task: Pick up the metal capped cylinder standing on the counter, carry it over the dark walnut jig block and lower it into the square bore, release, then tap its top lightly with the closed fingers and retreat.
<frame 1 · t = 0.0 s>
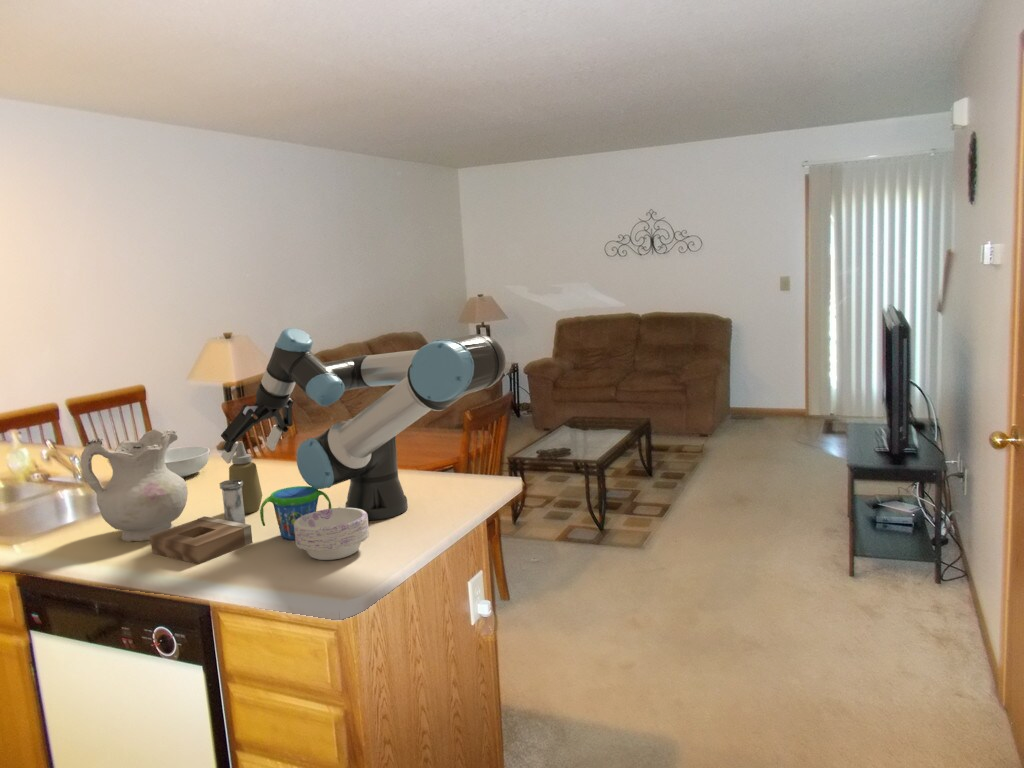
hand: (248, 453, 197), 15 cm above the worktop, tool tilted 35°, fingers open, 13 cm apart
ceramic pitcher: (143, 535, 187), on the worktop
jig: (198, 549, 174), on the worktop
serving bowl: (175, 476, 242), on the worktop
squeeze bottle: (247, 511, 201), on the worktop
metal capped cylinder: (236, 527, 189), on the worktop
snack cup: (298, 536, 180), on the worktop
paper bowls: (334, 553, 167), on the worktop
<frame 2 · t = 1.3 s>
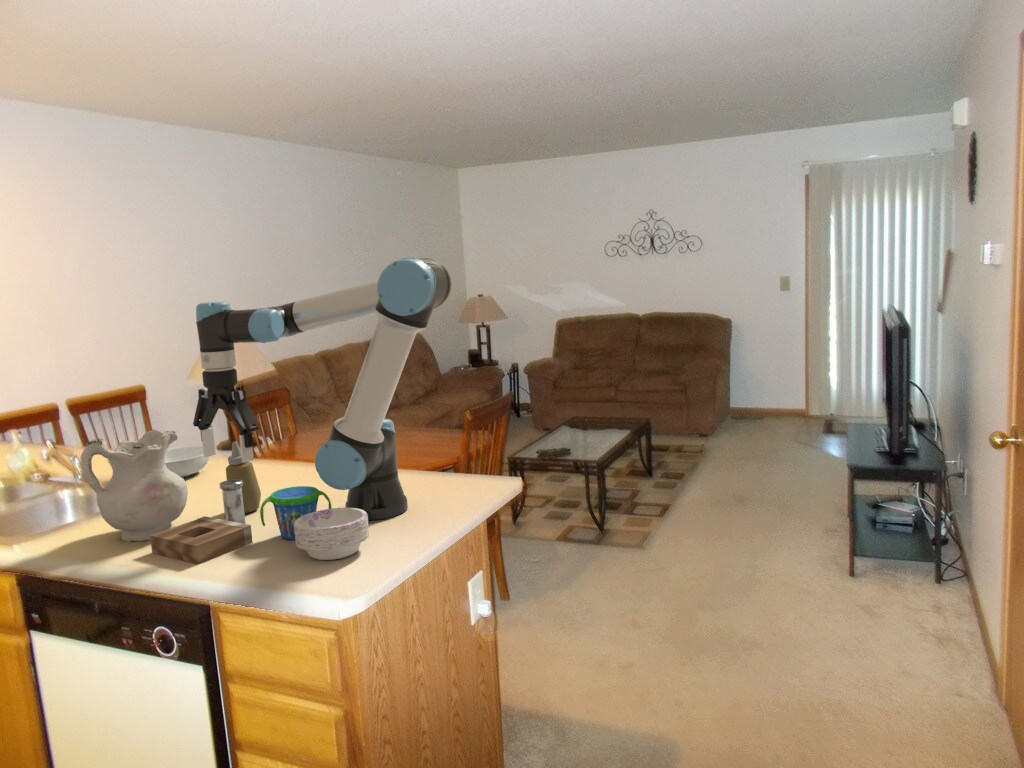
hand: (228, 458, 186), 17 cm above the worktop, tool pointing down, fingers open, 13 cm apart
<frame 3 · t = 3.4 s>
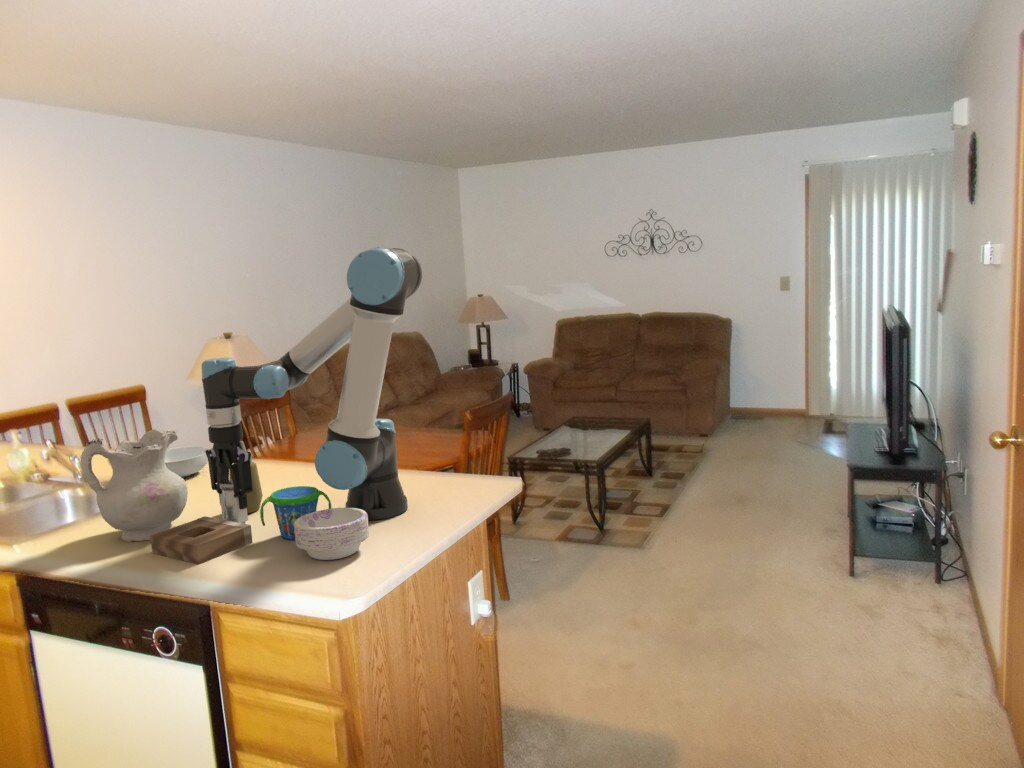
hand: (235, 520, 188), 2 cm above the worktop, tool pointing down, fingers closed on metal capped cylinder, 4 cm apart
metal capped cylinder: (236, 526, 188), on the worktop, touching gripper
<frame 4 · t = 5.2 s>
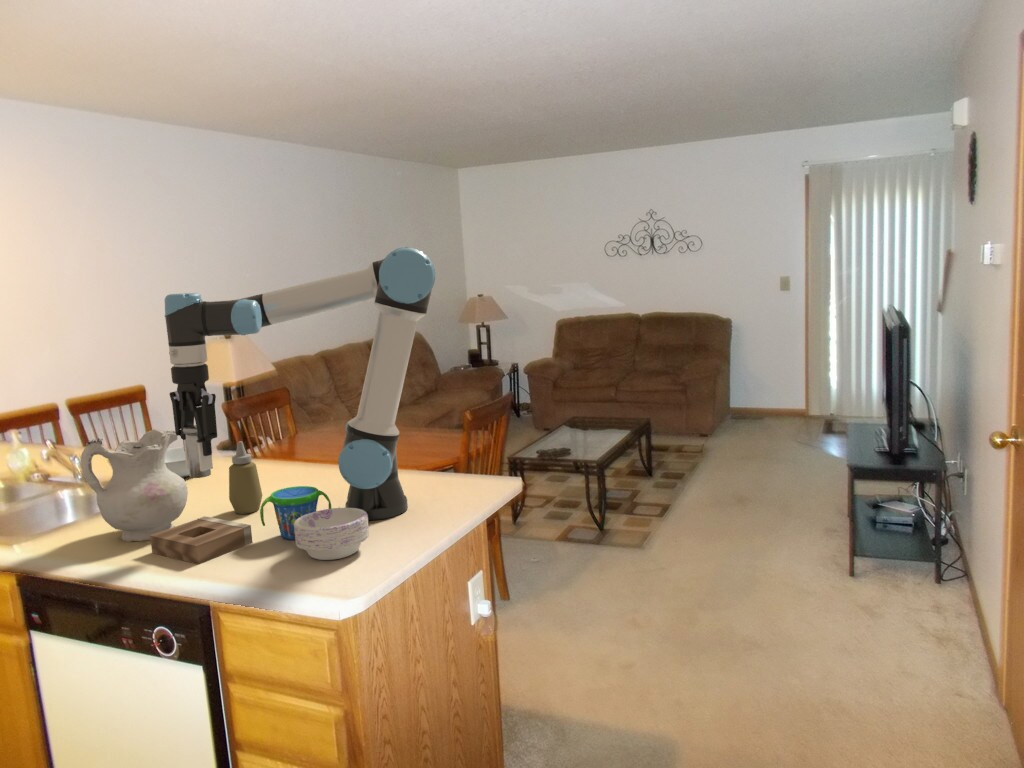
hand: (199, 468, 176), 17 cm above the worktop, tool pointing down, fingers closed on metal capped cylinder, 4 cm apart
metal capped cylinder: (200, 475, 176), point 16 cm above the worktop, touching gripper
everything else where it was.
when the fingers open (5 cm above the worktop, at t = 7.5 s): metal capped cylinder drops 2 cm, resting in jig.
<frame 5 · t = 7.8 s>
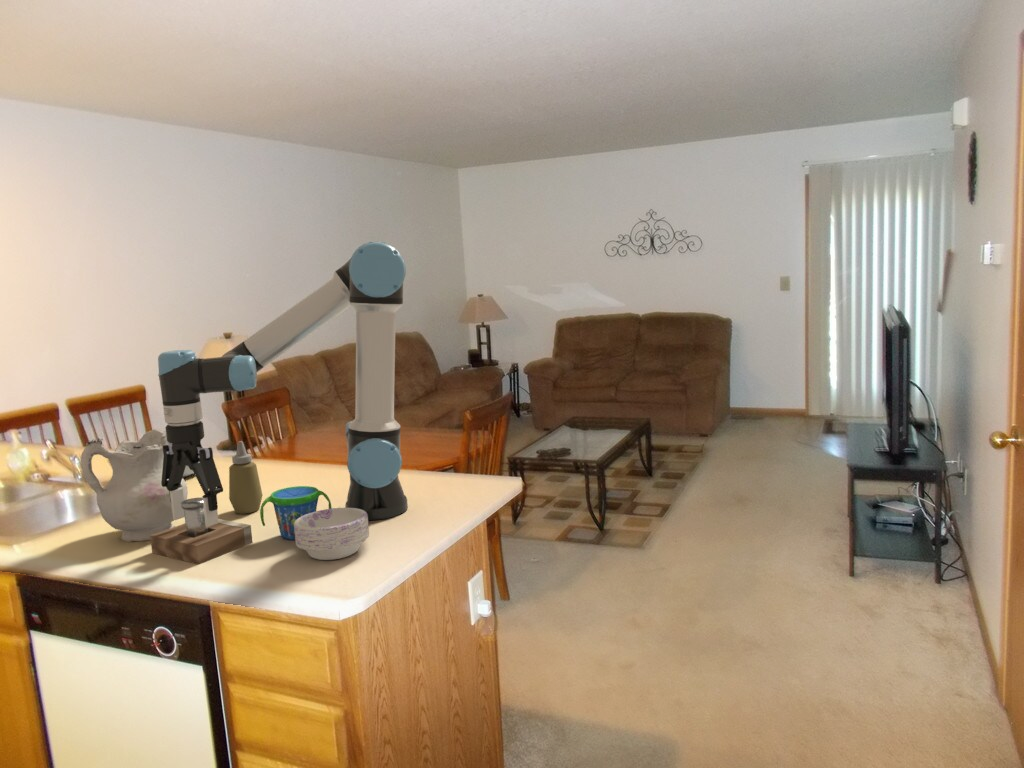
hand: (195, 521, 173), 6 cm above the worktop, tool pointing down, fingers open, 10 cm apart
metal capped cylinder: (199, 549, 174), resting in jig
everything else where it was.
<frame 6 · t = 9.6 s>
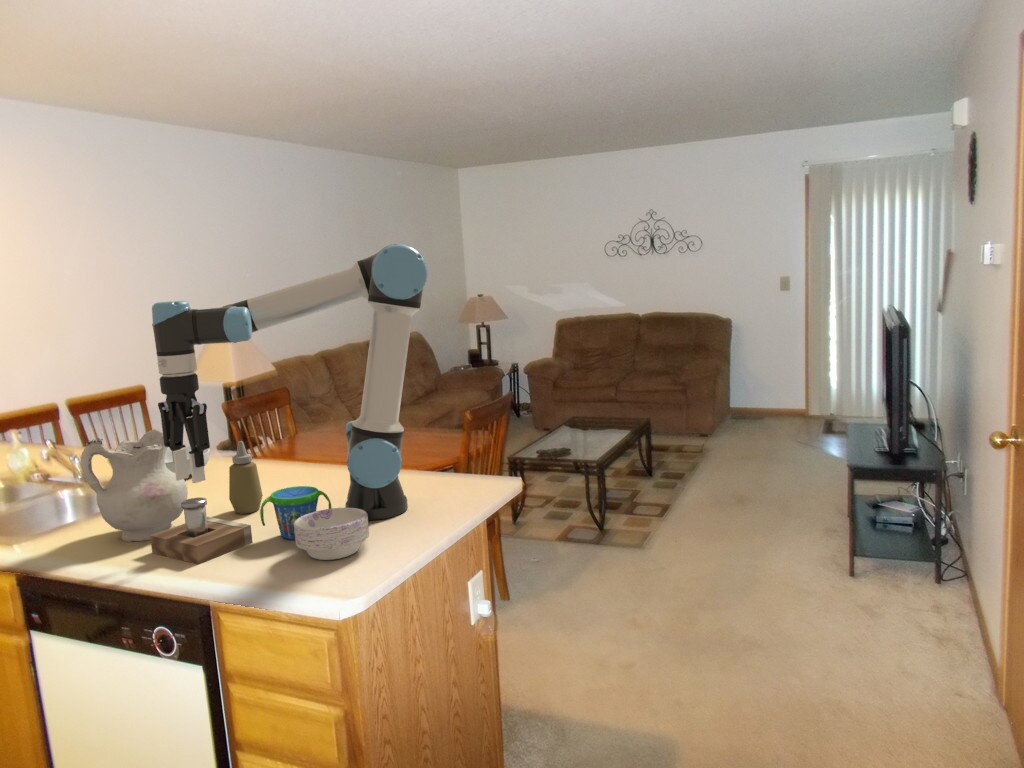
hand: (190, 479, 172), 16 cm above the worktop, tool pointing down, fingers open, 5 cm apart
nothing on the worktop moved.
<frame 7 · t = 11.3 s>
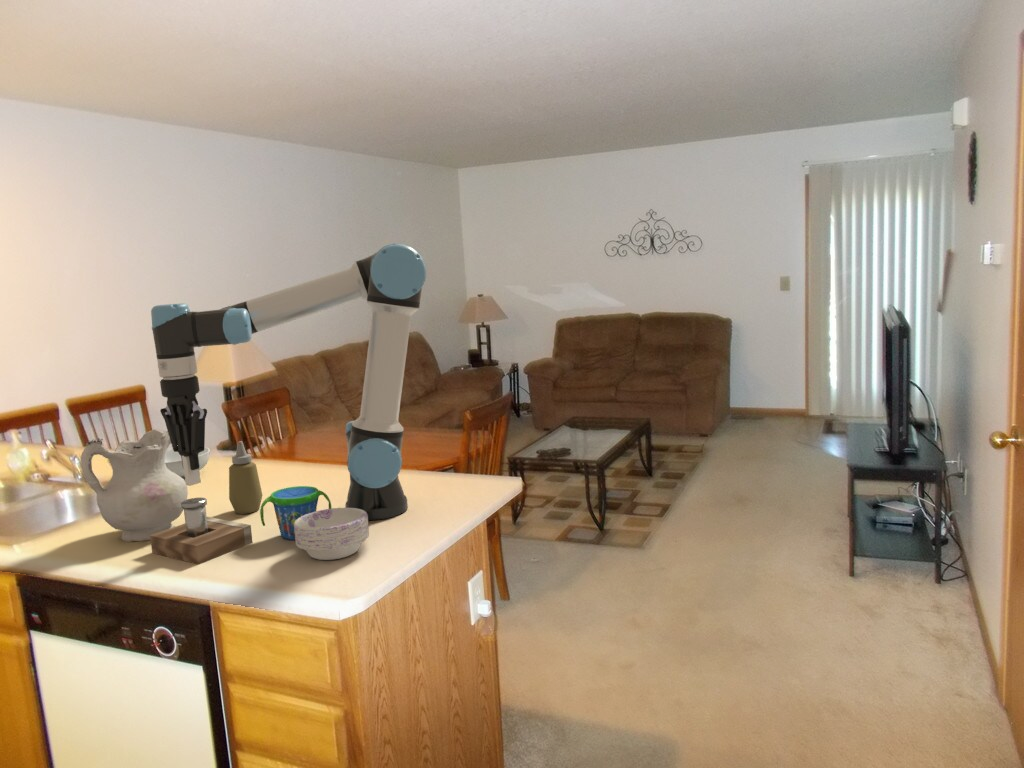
hand: (193, 483, 172), 15 cm above the worktop, tool pointing down, fingers closed
nothing on the worktop moved.
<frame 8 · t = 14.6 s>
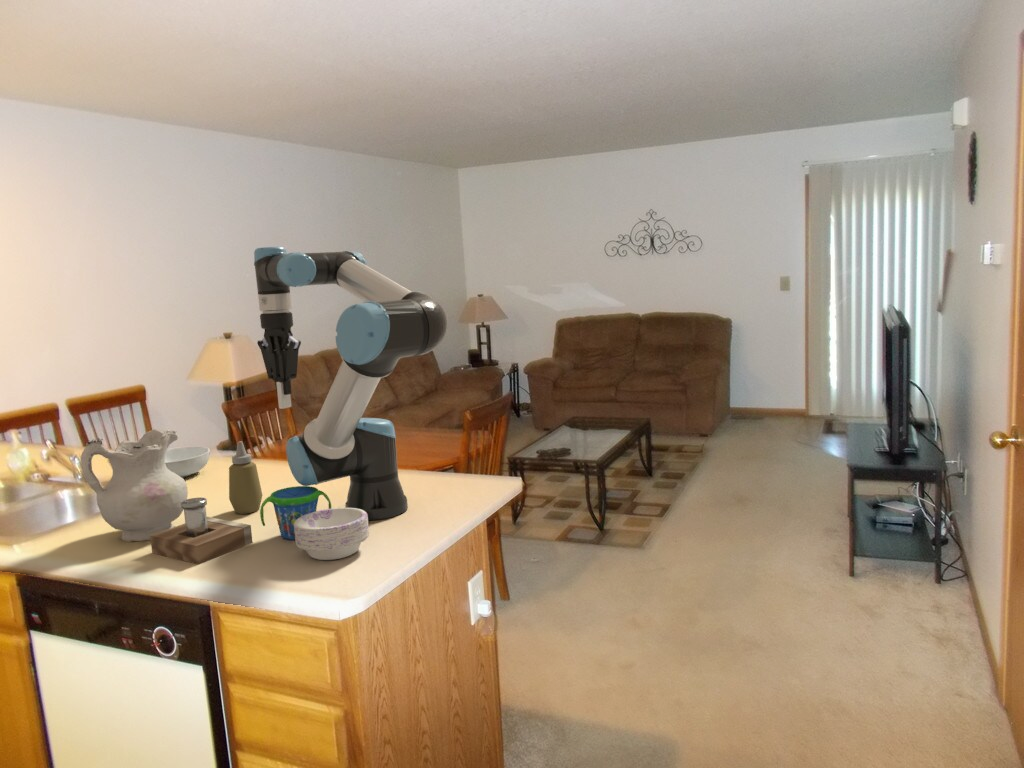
hand: (285, 407, 195), 26 cm above the worktop, tool pointing down, fingers closed
nothing on the worktop moved.
at the end: metal capped cylinder 0.1 cm off-centre on the jig, point 0.0 cm above the jig's base; metal capped cylinder tilted 0°; the gripper is holding nothing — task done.
